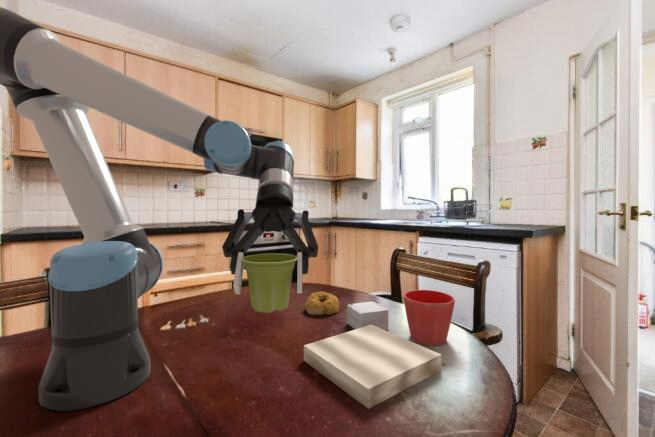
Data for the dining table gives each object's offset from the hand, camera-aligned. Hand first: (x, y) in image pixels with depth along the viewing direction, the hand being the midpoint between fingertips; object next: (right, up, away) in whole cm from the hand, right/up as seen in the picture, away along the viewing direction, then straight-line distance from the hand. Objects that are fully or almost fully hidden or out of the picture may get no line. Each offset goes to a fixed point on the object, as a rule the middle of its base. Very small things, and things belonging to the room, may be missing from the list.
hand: (268, 289), depth 50 cm
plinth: (+18, -16, +8) cm, 25 cm away
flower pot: (+32, -16, +20) cm, 41 cm away
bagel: (+8, -15, +40) cm, 43 cm away
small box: (+19, -16, +27) cm, 37 cm away
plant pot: (0, -4, +3) cm, 5 cm away
